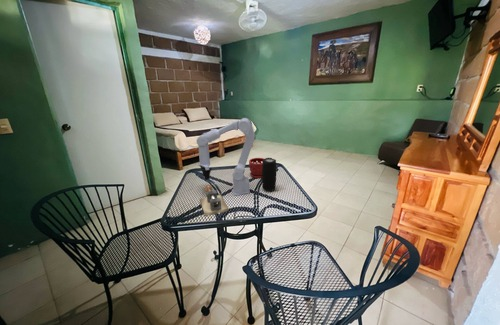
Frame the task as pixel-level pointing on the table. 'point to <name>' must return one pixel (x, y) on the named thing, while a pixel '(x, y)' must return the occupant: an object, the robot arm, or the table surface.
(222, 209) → the bearing board
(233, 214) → the table surface
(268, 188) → the portable speaker
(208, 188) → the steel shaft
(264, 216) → the table surface
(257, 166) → the plant pot
